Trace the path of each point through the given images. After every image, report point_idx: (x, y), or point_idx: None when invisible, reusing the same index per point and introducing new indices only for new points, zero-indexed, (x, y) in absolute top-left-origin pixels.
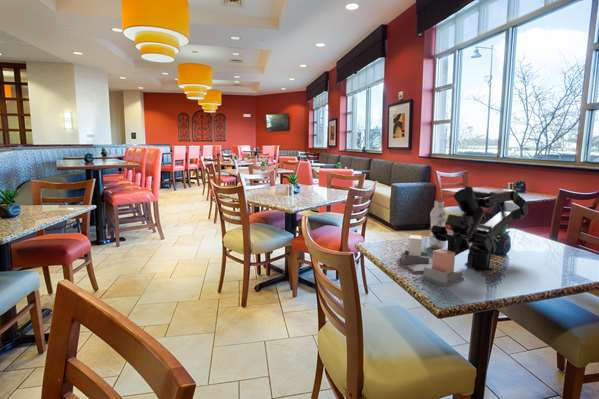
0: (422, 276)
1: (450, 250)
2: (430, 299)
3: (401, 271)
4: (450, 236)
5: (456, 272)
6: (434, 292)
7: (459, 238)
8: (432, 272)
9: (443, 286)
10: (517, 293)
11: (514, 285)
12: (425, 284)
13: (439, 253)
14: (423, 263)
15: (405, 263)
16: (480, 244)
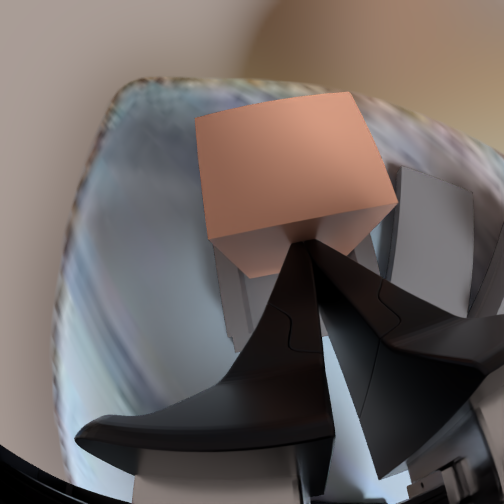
0: None
1: (329, 287)
2: (168, 85)
3: (429, 147)
4: (494, 338)
5: (229, 281)
6: (195, 117)
7: (214, 421)
8: None
9: None
10: (68, 398)
11: None
12: None
13: (285, 107)
14: (480, 299)
15: (501, 232)
16: (49, 487)
